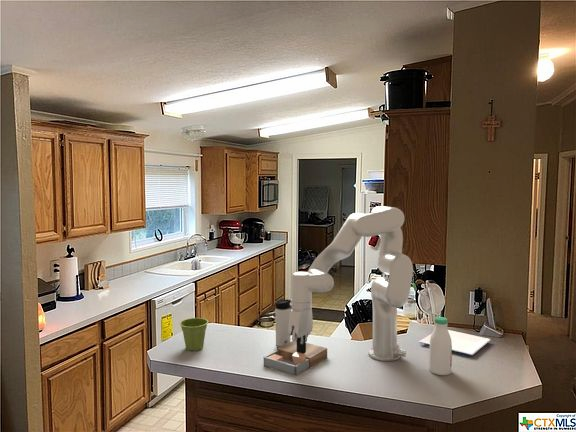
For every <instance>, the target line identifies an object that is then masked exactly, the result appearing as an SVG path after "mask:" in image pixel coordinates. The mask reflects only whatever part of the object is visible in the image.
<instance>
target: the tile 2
mask: <svg viewBox="0 0 576 432" xmlns="http://www.w3.org/2000/svg"><path fill="white" fill-rule="evenodd" d="M292 358H293V363H294V366H296V365H298V364H299V363H301V362H303V361H305V360H306V355H305V354H302V353H299V352H295V353H294V354H293V355H292Z"/></svg>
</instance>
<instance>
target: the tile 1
mask: <svg viewBox="0 0 576 432" xmlns="http://www.w3.org/2000/svg"><path fill="white" fill-rule="evenodd" d="M268 358H271V359H275V360H278V361H281V362H283V356H279V355H276V354H273V355H271V356H269V357H268Z"/></svg>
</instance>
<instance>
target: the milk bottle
mask: <svg viewBox="0 0 576 432" xmlns="http://www.w3.org/2000/svg"><path fill="white" fill-rule="evenodd" d="M448 323H449V321H448V318H447V317H443V316H435V317H434V329H433V330H432V332H431V337H430V345H429V350H428V352H429V354H428V355H429V358H428V362H429V363H428V369H429V371H430V373H432V374H434V375H437V376H448V375H451V373H452V352H453V351H452V341H451V337H450V334H449V332H448V330H449V329H448Z"/></svg>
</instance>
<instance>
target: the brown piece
mask: <svg viewBox="0 0 576 432" xmlns="http://www.w3.org/2000/svg"><path fill="white" fill-rule="evenodd" d="M305 343H306V353H304V354H305V355H306V360H307V359H309V369H311V368H314V367H315V366H316V365H318V364H320V363H322V362H323V361H324V360H326V359H328V347H324V346H321V345H316V344H313V343H308V342H305ZM277 350H279V356H283V359H286V360H289V361H292V362H293V358H292V355H293V354H294V353H295V352H297V343H296V341H293V340H290V342H289V343H287V344H285V345H283V346H281V347H279V348H278V347H276V351H277Z"/></svg>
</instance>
